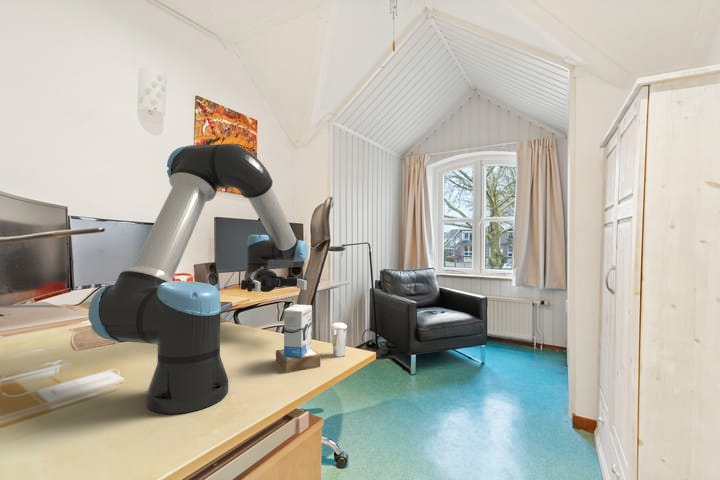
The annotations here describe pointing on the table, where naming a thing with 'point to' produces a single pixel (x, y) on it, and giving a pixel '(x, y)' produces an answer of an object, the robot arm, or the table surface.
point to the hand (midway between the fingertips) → (283, 286)
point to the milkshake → (338, 338)
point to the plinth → (298, 361)
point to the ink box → (297, 330)
